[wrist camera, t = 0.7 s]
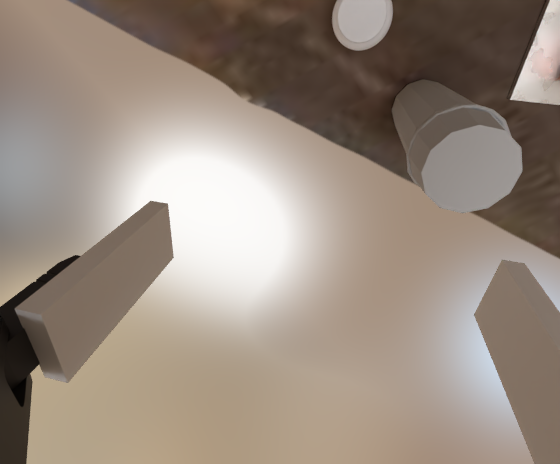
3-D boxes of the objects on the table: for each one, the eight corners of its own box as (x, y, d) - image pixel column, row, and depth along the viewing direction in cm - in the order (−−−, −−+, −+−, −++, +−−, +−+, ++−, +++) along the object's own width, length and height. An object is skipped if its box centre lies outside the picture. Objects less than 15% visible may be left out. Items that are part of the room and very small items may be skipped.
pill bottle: (369, -25, 39) (372, -44, 30) (398, 23, 41) (409, 19, 32) (326, 16, 42) (316, 10, 33) (354, 59, 44) (353, 65, 34)
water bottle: (378, 100, 46) (394, 155, 24) (436, 63, 42) (514, 90, 21) (409, 157, 48) (447, 251, 27) (466, 127, 45) (560, 207, 24)
